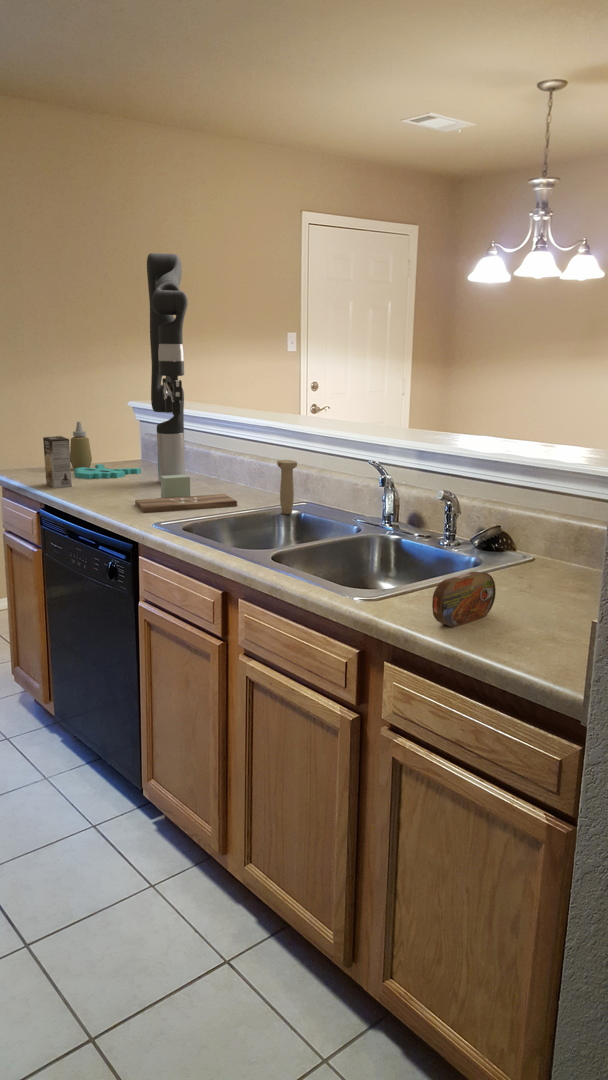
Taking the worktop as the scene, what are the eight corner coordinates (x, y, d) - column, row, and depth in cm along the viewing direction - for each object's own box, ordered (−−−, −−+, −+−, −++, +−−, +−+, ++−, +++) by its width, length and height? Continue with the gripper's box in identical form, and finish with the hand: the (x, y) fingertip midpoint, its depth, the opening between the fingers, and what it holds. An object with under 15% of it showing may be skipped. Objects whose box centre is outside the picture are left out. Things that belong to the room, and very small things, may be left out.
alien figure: (99, 469, 307) (61, 477, 290) (99, 464, 307) (61, 471, 290) (140, 474, 298) (104, 482, 281) (140, 468, 298) (103, 475, 281)
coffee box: (45, 484, 273) (42, 436, 270) (64, 482, 277) (61, 435, 273) (53, 488, 266) (50, 439, 262) (72, 486, 270) (70, 438, 266)
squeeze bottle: (66, 470, 301) (63, 422, 297) (76, 467, 309) (73, 420, 305) (87, 471, 300) (84, 423, 296) (95, 468, 308) (93, 421, 304)
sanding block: (161, 498, 252) (160, 475, 250) (186, 496, 255) (185, 474, 254) (165, 500, 248) (164, 478, 246) (190, 499, 251) (189, 476, 249)
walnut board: (135, 504, 241) (134, 499, 240) (224, 498, 251) (224, 493, 251) (143, 512, 230) (143, 507, 230) (237, 505, 241) (236, 500, 240)
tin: (441, 631, 138) (444, 584, 136) (427, 626, 140) (429, 580, 138) (495, 614, 147) (498, 569, 145) (481, 609, 150) (484, 566, 148)
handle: (285, 516, 227) (285, 463, 224) (273, 512, 232) (273, 460, 229) (299, 514, 230) (300, 462, 226) (287, 510, 235) (288, 459, 231)
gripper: (153, 359, 247) (155, 412, 251) (164, 360, 234) (166, 416, 238) (177, 359, 250) (178, 411, 254) (189, 360, 237) (191, 415, 241)
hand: (172, 413), depth 246 cm, fingers open, 8 cm apart
